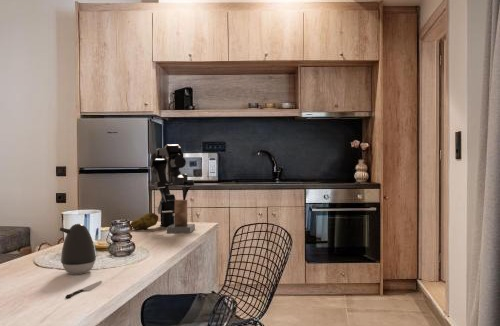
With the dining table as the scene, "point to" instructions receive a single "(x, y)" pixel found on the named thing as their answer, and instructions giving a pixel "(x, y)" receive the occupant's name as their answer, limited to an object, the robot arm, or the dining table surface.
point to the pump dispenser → (77, 250)
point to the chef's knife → (85, 289)
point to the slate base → (180, 228)
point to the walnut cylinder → (180, 212)
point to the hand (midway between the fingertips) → (175, 201)
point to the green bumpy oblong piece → (145, 221)
